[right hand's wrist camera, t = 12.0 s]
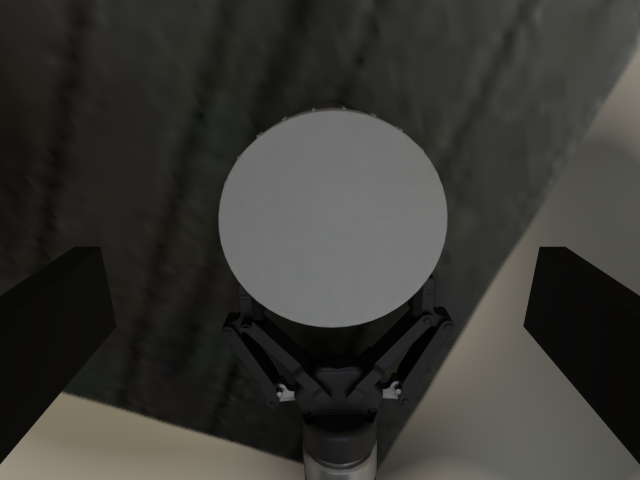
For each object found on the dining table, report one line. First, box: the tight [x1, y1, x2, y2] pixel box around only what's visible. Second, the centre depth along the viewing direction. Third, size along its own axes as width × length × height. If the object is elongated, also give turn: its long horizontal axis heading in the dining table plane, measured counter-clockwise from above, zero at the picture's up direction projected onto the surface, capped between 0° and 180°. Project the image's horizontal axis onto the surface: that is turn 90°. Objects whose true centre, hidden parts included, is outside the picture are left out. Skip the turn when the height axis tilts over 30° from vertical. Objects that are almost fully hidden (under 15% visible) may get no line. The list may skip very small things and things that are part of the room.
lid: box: [218, 107, 447, 327], centre depth 20 cm, size 11×11×2 cm
